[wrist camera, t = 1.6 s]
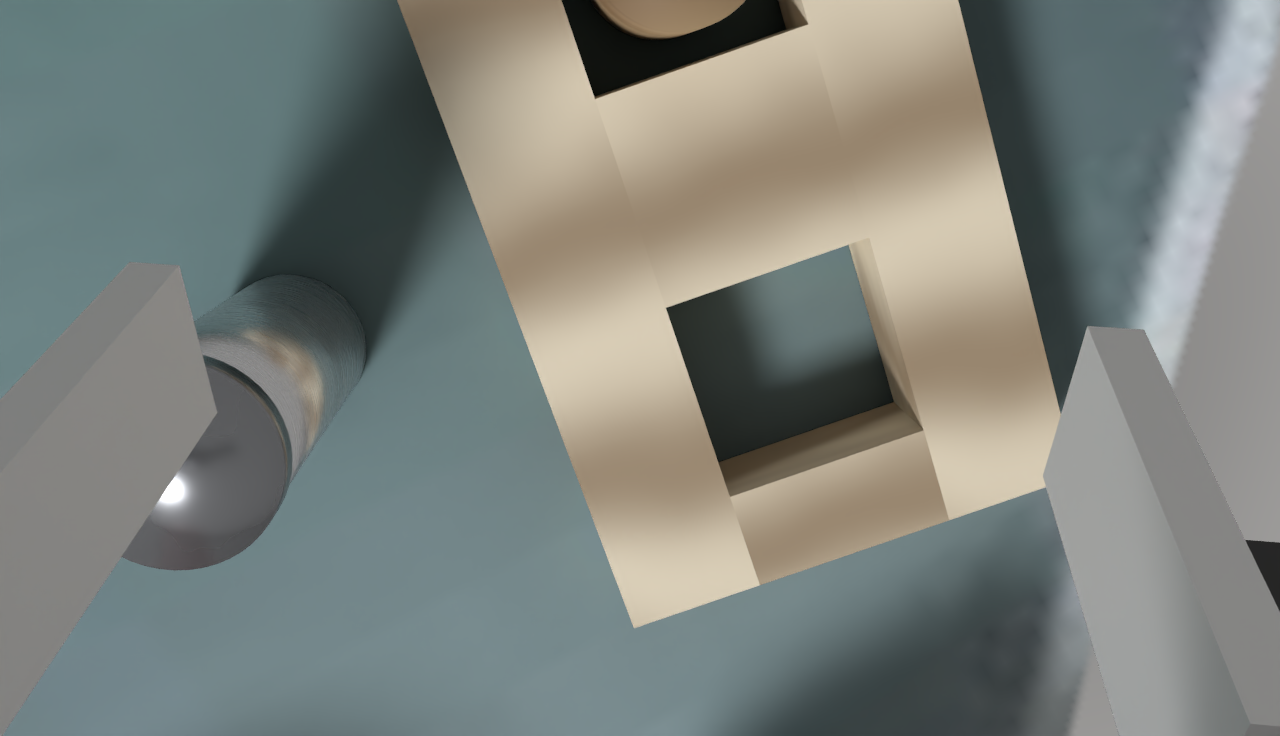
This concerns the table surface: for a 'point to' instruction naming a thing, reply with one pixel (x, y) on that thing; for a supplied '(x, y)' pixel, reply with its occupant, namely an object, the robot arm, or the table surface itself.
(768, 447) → the block
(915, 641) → the table surface
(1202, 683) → the robot arm
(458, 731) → the table surface
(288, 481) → the metal cylinder
